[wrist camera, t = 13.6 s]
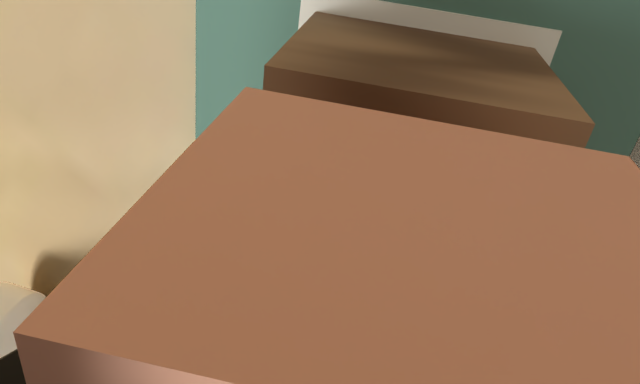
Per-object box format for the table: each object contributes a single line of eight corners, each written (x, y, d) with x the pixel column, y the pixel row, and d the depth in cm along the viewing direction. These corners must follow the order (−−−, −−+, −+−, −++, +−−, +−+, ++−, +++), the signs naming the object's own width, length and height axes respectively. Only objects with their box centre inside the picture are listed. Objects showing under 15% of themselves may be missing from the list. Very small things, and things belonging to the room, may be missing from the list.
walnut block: (534, 47, 12) (595, 123, 8) (472, 229, 15) (493, 357, 11) (315, 11, 13) (264, 65, 9) (294, 194, 16) (247, 304, 11)
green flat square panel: (737, -84, 11) (749, -83, 10) (541, 319, 17) (545, 329, 17) (202, -162, 12) (195, -163, 11) (199, 246, 18) (194, 255, 18)
